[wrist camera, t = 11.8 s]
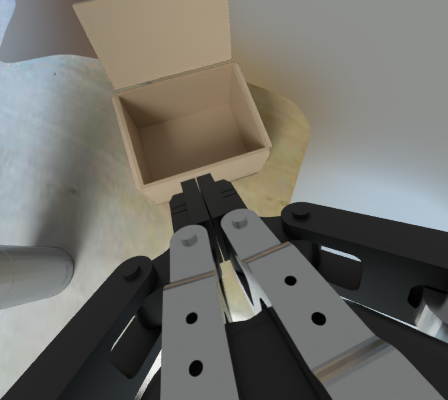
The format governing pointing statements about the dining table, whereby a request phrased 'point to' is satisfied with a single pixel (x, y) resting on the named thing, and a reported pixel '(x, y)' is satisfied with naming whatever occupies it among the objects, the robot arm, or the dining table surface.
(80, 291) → the dining table surface
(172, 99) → the tan open box
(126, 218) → the dining table surface
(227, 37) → the wooden box lid
